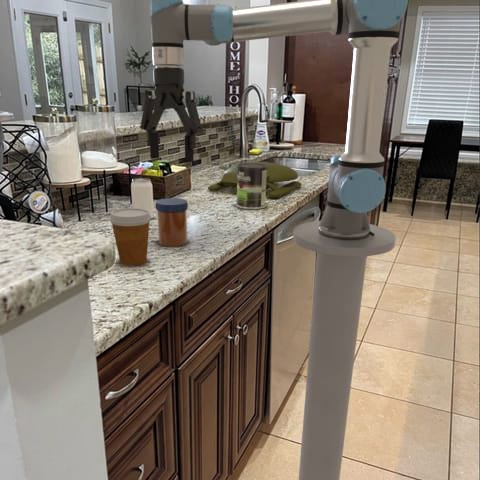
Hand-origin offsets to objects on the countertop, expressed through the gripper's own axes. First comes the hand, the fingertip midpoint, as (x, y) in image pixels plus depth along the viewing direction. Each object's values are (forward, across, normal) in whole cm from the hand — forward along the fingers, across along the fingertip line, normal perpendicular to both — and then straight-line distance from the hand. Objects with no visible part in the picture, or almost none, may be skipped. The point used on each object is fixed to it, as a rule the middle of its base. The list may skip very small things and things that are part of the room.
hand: (171, 160), depth 132 cm
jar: (+21, +2, -4) cm, 21 cm away
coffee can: (+21, 0, +46) cm, 50 cm away
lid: (+10, +2, -4) cm, 11 cm away
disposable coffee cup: (+21, +4, -22) cm, 31 cm away
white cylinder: (+21, -21, +12) cm, 32 cm away
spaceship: (+21, -13, +76) cm, 80 cm away
